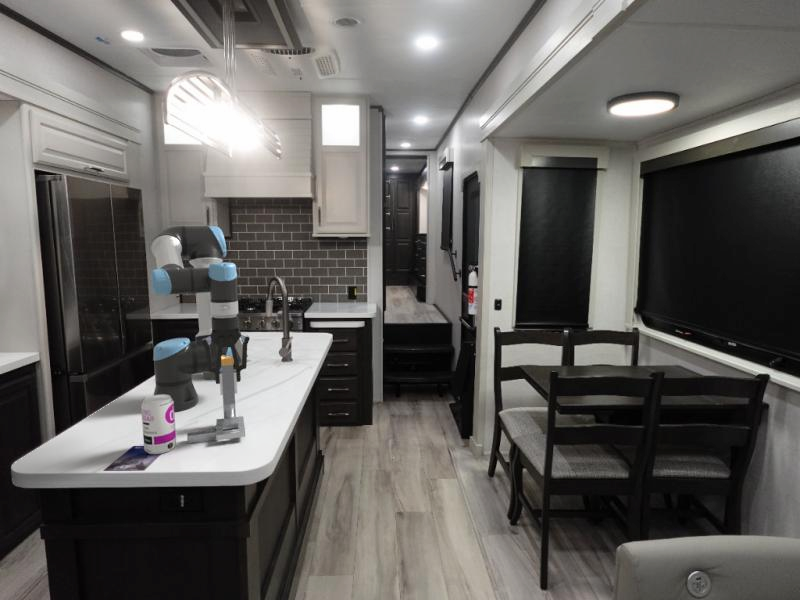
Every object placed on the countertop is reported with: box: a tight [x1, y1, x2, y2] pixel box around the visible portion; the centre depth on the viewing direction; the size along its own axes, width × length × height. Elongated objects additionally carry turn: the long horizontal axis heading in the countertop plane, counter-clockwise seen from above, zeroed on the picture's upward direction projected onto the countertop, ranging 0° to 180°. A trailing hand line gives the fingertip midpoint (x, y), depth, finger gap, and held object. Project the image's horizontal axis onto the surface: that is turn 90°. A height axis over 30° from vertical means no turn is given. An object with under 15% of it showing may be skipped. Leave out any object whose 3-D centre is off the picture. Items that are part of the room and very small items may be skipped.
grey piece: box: [186, 400, 246, 445], centre depth 147 cm, size 16×17×16 cm
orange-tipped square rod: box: [221, 355, 236, 405], centre depth 144 cm, size 3×3×14 cm
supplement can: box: [140, 394, 177, 455], centre depth 137 cm, size 8×8×15 cm
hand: (228, 392), depth 144 cm, fingers closed on orange-tipped square rod, 3 cm apart
